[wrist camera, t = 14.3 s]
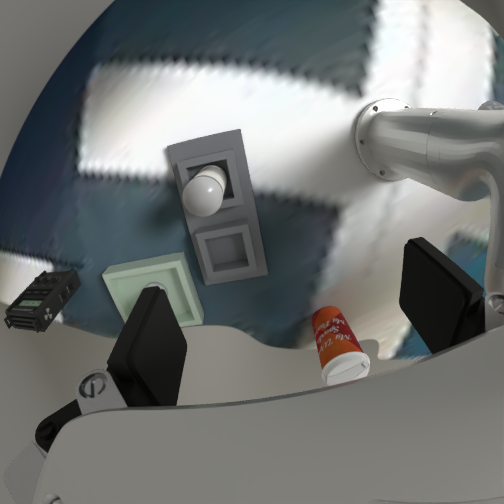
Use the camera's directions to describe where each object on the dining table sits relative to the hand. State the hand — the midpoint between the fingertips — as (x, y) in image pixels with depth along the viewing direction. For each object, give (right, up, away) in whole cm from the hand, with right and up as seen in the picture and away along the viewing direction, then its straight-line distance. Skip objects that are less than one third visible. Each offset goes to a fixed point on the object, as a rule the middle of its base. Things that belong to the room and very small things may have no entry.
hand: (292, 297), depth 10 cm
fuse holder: (-6, +7, +30) cm, 31 cm away
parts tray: (-18, -5, +35) cm, 40 cm away
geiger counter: (-37, -3, +34) cm, 51 cm away
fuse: (-7, +11, +27) cm, 30 cm away
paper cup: (+12, -10, +39) cm, 42 cm away
